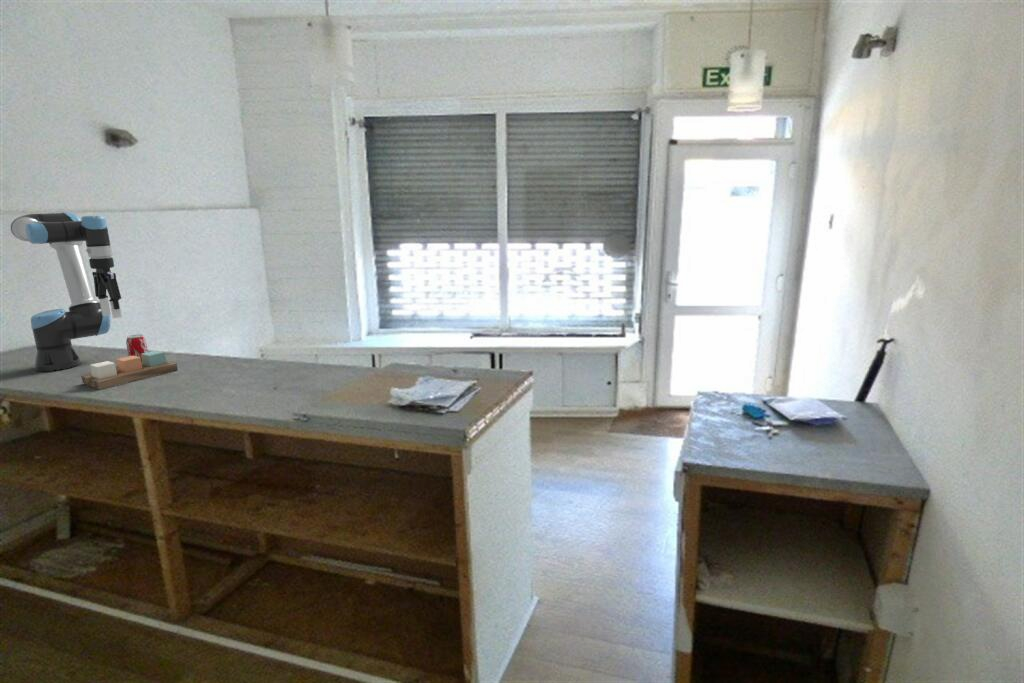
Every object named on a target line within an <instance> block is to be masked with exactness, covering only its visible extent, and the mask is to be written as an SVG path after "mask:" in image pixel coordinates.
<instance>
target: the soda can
mask: <svg viewBox="0 0 1024 683" xmlns="http://www.w3.org/2000/svg"><path fill="white" fill-rule="evenodd" d="M146 339H147V338H145V337H144V335H143V334H132V335H128V336H126V339H125V340H126V341H125V344H126V350H127V354H128V356H137V357H140V358H141V362H143V361H142V356H141V354H142V353H147V352H149V349H148V344H147V340H146ZM128 356H127V357H128Z"/></svg>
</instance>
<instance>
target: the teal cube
mask: <svg viewBox="0 0 1024 683" xmlns="http://www.w3.org/2000/svg"><path fill="white" fill-rule="evenodd" d="M141 356H142V361H143V365H144V366H147V367H153V366H157V365H162V364H166V361H167V359H166V354H165V351H161V350H158V349H157V350H152V351H148V352H147V353H142V354H141Z"/></svg>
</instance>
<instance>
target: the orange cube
mask: <svg viewBox="0 0 1024 683" xmlns="http://www.w3.org/2000/svg"><path fill="white" fill-rule="evenodd" d="M115 360H116V363H117V364H116V365H117V368H118V371H120V372H123V373H127V372H132V371H136V370H140V369H142V363H141V358H140V357H137V356H123V357H120V358H116V359H115Z"/></svg>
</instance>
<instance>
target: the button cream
mask: <svg viewBox="0 0 1024 683" xmlns="http://www.w3.org/2000/svg"><path fill="white" fill-rule="evenodd" d="M89 368H90V374H92V377H93V378H96V379H102V378H106V377H110V376H115V375H117V371H116V368H117V366H116V362H113V361H109V360H106V361H102V362H98V363H97V362H96V363H92V364H89Z"/></svg>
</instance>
